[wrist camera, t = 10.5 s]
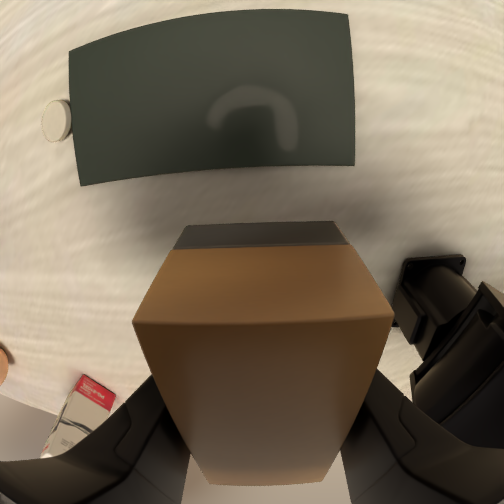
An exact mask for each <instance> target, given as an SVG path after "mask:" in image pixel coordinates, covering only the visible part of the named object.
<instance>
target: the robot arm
mask: <svg viewBox="0 0 504 504" xmlns="http://www.w3.org/2000/svg"><path fill="white" fill-rule="evenodd" d="M460 261H461V262H460ZM465 263H466V258H465V257H464V256H463V255H449V256H434V257H418V258H408V259H406V260H405V261H404V263H403V266H402V271H401V276H400V280H399V284H398V286H397V288H396V293H395V297H394V301H393V305H392V310H393V311H394V319H393V322H392V326H391V327H400V329H401V330H402V332H403V334H404V336H405V338H406V339H407V341H408V343H409V344H410V345H412V344H414V345H415V347H416V349H417V351H418V353H419V355H420V356H421V358H422V360H423V361H424V362H423V363H422V364H421V365H420V366H419V367H418V368H417V369H416V370H414V371H413V372H412V373H411V374H410V384H411V392H412V402H413V403H412V402H411V401H410V400H409V399H408V398H407V397H406V396H404V394H403V393H402V392H401V391H400V390H399V389H398V388H397V387H396V386H394V385H393V384H392V383H391V382H390V381H389V380H388V379H387V378H386V377H385V376H384V375H383V374H382V373H381V372H380V371H379V370H378V369H376V372H375V374H374V377H373V379H372V382H371V384H370V387H369V389H368V392H367V394H366V396H365V399H364V401H363V403H362V405H361V408H360V410H359V412H358V414H357V416H356V419H355V421H354V423H353V425H352V427H351V429H350V431H349V433H348V435H347V437H346V439H345V441H344V443H343V445H342V447H341V449H340V451H341V456H342V460H343V465H344V470H345V474H346V479H347V484H348V489H349V494H350V499H351V503H352V504H504V294H503V293H501V292H500V291H498V290H497V289H495V288H493V287H492V286H490V285H489V284H487V283H485V282H484V281H482V282H481V284H480V285H479V287H478V288H479V289H478V291H477V290H476V289H475V288H474V287H473V286H472V285H471V284H470V283H469V282H468V281H467V280H466V279H465V278H464V277H463V276H462V274H463V270H464V267H465ZM409 264H411V265H410V266H409V267H408V265H409ZM190 454H191V452H190V451H189V449H188V447H187V445H186V443H185V442H184V440H183V438H182V436H181V434H180V432H179V430H178V428H177V427H176V425H175V423H174V421H173V419H172V417H171V415H170V413H169V411H168V408H167V406H166V404H165V402H164V400H163V398H162V396H161V394H160V391H159V389H158V387H157V385H156V382H155V380H154V378H153V376H152V374H151V375H150V376H149V377H148V378H147V380H146V381H145V382H144V383H143V384H142V385H141V386H140V387H139V388H138V389H137V390H136V391H135V392H134V393H133V394H132V395H131V396H130V397H129V398H128V399H127V400H126V401H125V403H123V404H122V405H121V406H120V407H119V408H118V409H117V410H116V411H115V412H114V413H113V414H112V415H111V416H110V417H109V418H108V419H107V420H106V421H104V422H103V423H102V424H101V425H100V426H98V427H97V428H96V429H95V430H94V431H92V432H91V433H90V434H89V435H87V436H86V437H85V438H83V439H82V440H81V441H80V442H78V443H77V444H76V445H74V446H73V447H72V448H71V449H69V450H68V451H66V452H64V453H62V454H60V455H57V456H53V457H47V458H40V459H31V460H21V461H8V462H6V461H5V462H3V461H2V462H1V461H0V504H181V500H182V495H183V489H184V483H185V479H186V474H187V468H188V463H189V459H190Z"/></svg>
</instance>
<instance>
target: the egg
mask: <svg viewBox="0 0 504 504" xmlns="http://www.w3.org/2000/svg"><path fill="white" fill-rule="evenodd" d="M7 373H8V359H7V356H6V354H5V352H4V351H3V350H2V349H1V348H0V386H1V385H2V383H3V382H4V380H5V378H6V376H7Z"/></svg>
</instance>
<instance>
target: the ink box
mask: <svg viewBox="0 0 504 504" xmlns="http://www.w3.org/2000/svg"><path fill="white" fill-rule="evenodd" d="M115 397H116V396H115V394H114V393H112V392H110V391H108V390H107V389H105V388H104V387H102V386H101V385H99V384H97V383H96V382H94V381H93V380H91V379H90V378H88V377H87V376H85V375H82V377H81V378H80V380H79V381H78V383H77V384H76V385H75V387H74V388H73V390H72V391H71V393H70V394H69V395H68V397H67V399H66V401H65V403H64V405H63V407H62V409H61V411H60V413H59V415H58V417H57V419H56V421H55V423H54V426H53V428H52V430H51V432H50V435H49V437H48V439H47V441H46V444H45V446H44V448H43V451H42V454H41V456H40V458H47V457H53V456H57V455H60V454H62V453H64V452H66V451H68V450H69V449H71V448H72V447H73V446H74V445H76V444H77V443H78V442H80V441H81V440H82V439H83V438H85V437H86V436H87V435H89V434H90V433H91V432H92V431H94V430H95V429H96V428H97V427H98V426H100V425H101V424H102V423H103V422H104V421H106V420H107V418H108V416H109V413H110V410H111V408H112V405H113V402H114V400H115Z"/></svg>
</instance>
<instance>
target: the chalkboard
mask: <svg viewBox="0 0 504 504" xmlns="http://www.w3.org/2000/svg"><path fill="white" fill-rule="evenodd" d="M69 94H70V110H71V122H72V132H73V140H74V148H75V156H76V162H77V169H78V174H79V180H80V186H87V185H93V184H98V183H104V182H110V181H117V180H123V179H130V178H138V177H145V176H153V175H161V174H170V173H179V172H189V171H200V170H213V169H226V168H243V167H264V166H308V165H324V166H354V165H355V97H354V75H353V60H352V48H351V37H350V28H349V19H348V14H341V13H333V12H324V11H312V10H293V9H256V10H237V11H225V12H215V13H207V14H200V15H193V16H187V17H181V18H176V19H171V20H166V21H161V22H157V23H153V24H149V25H145V26H141V27H137V28H133V29H130V30H126V31H123V32H120V33H117V34H113V35H110V36H107V37H105V38H102V39H99V40H96V41H93V42H91V43H88V44H86V45H83V46H81V47H78V48H76V49H73V50H71V51H69Z"/></svg>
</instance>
